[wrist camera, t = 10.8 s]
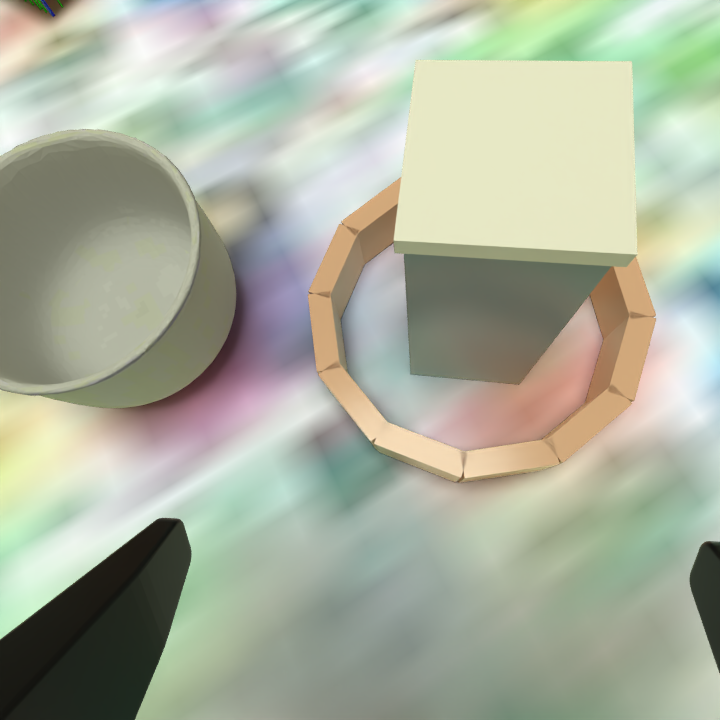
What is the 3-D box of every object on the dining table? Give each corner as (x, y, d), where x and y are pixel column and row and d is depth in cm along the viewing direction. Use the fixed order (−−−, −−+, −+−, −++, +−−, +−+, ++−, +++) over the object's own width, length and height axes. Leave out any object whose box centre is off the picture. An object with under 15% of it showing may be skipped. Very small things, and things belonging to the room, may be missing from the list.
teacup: (247, 213, 28) (182, 98, 20) (273, 403, 24) (207, 353, 17) (7, 269, 28) (-144, 178, 21) (0, 461, 25) (-184, 438, 17)
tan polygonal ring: (662, 452, 22) (700, 443, 19) (342, 500, 22) (331, 498, 20) (575, 180, 26) (595, 139, 23) (309, 229, 27) (296, 195, 24)
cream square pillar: (523, 389, 23) (637, 254, 11) (405, 377, 24) (393, 240, 12) (527, 281, 25) (632, 61, 13) (416, 274, 25) (415, 60, 13)
